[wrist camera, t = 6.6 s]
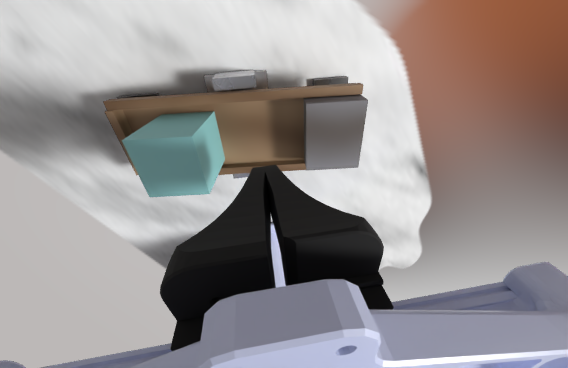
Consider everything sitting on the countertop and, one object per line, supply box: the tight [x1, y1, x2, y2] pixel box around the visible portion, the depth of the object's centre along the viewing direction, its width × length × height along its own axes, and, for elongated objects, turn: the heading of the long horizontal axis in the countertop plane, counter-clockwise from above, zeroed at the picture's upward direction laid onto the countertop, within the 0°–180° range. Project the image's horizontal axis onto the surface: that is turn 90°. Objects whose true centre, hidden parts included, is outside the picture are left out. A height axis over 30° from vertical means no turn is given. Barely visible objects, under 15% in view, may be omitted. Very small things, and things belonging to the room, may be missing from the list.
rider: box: [122, 111, 225, 197], centre depth 16 cm, size 4×4×5 cm
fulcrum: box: [117, 70, 348, 178], centre depth 19 cm, size 8×19×3 cm, turn 93°
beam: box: [103, 83, 368, 175], centre depth 17 cm, size 6×18×4 cm, turn 93°
